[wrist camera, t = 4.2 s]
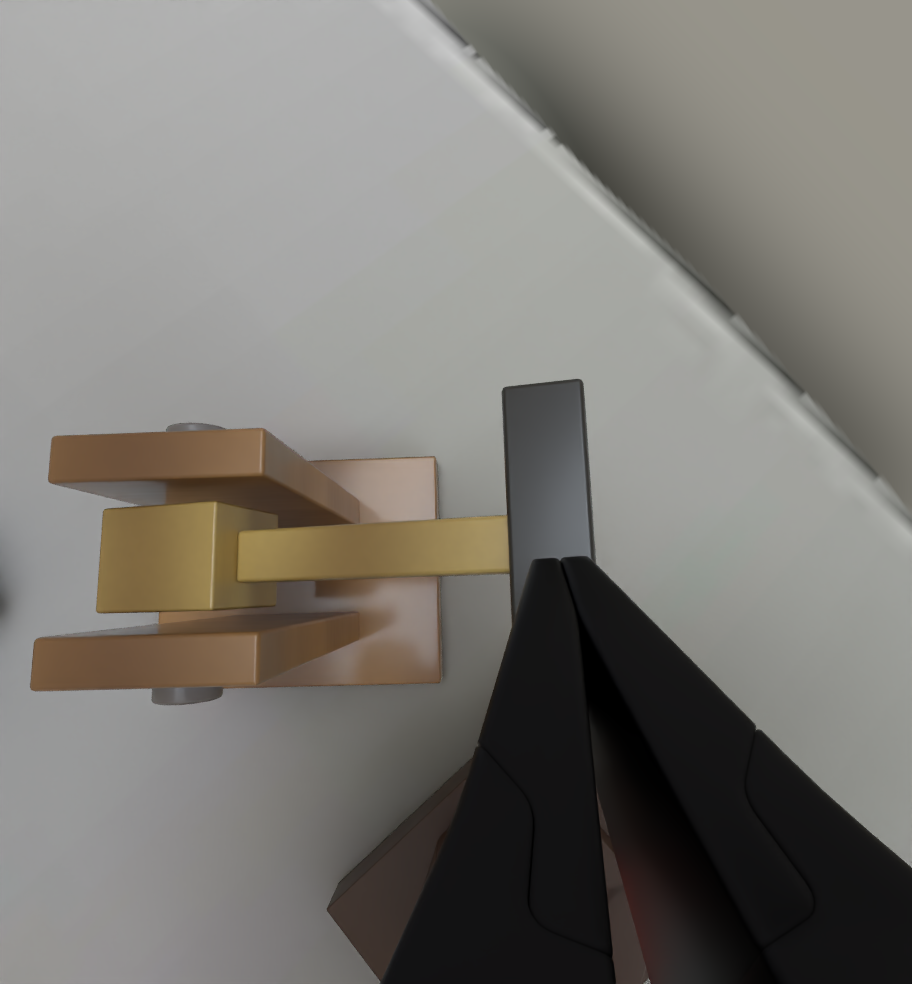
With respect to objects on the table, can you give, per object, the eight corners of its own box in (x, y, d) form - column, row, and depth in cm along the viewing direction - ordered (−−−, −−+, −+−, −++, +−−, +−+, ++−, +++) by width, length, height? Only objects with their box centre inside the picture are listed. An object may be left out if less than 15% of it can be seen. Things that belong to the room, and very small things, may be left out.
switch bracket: (437, 462, 22) (403, 349, 12) (442, 678, 21) (409, 769, 11) (182, 472, 23) (-77, 369, 12) (171, 684, 21) (-128, 780, 11)
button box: (710, 867, 20) (760, 926, 16) (493, 1086, 19) (497, 1197, 16) (549, 684, 21) (564, 703, 18) (338, 883, 20) (309, 944, 17)
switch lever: (585, 407, 13) (581, 368, 10) (605, 695, 12) (605, 721, 9) (183, 447, 15) (107, 422, 13) (171, 689, 14) (87, 709, 12)
